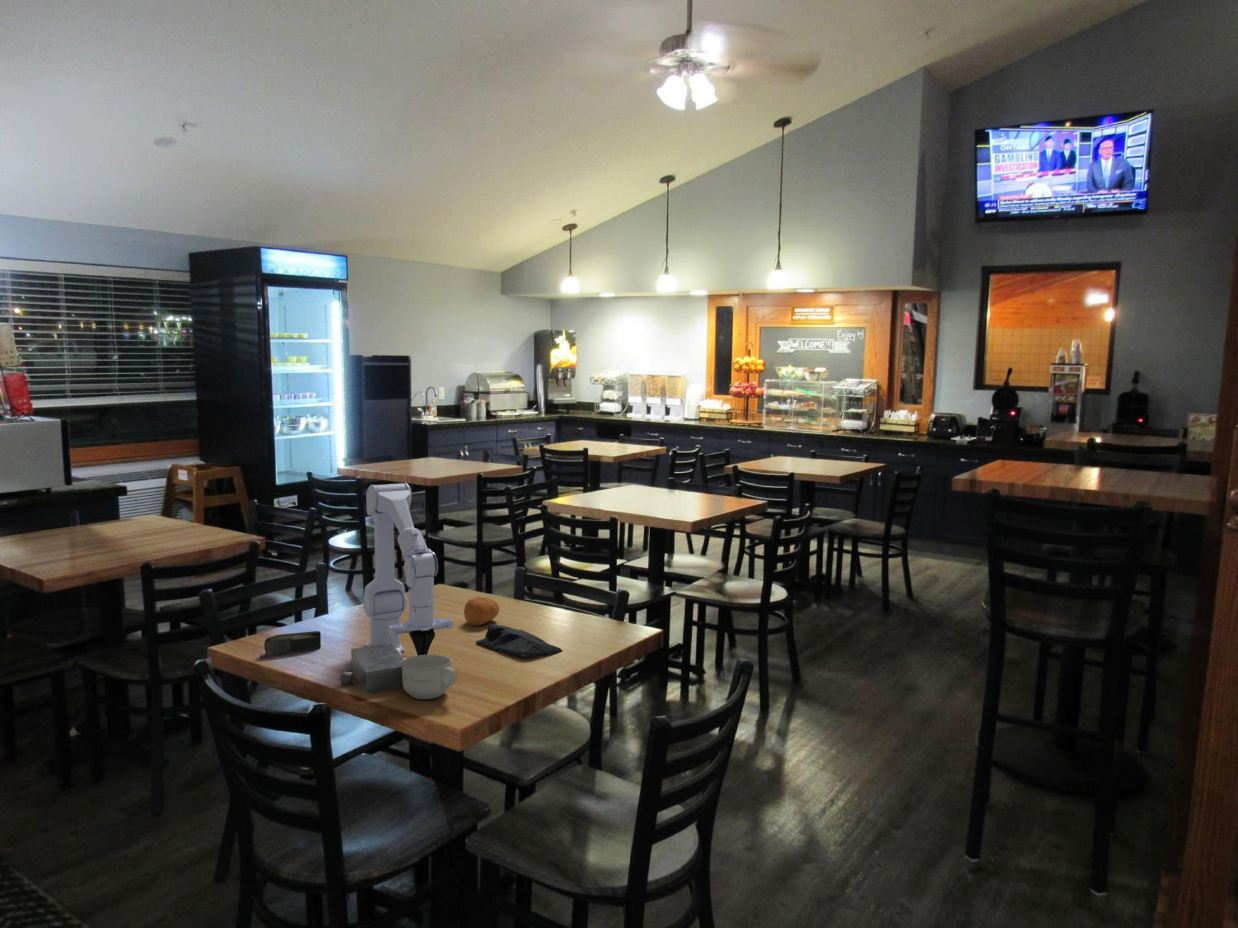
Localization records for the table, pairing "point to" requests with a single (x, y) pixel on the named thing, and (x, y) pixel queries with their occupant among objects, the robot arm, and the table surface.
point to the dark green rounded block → (292, 643)
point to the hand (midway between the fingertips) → (421, 661)
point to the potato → (480, 610)
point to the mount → (377, 667)
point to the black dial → (346, 678)
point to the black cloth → (516, 642)
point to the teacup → (427, 675)
